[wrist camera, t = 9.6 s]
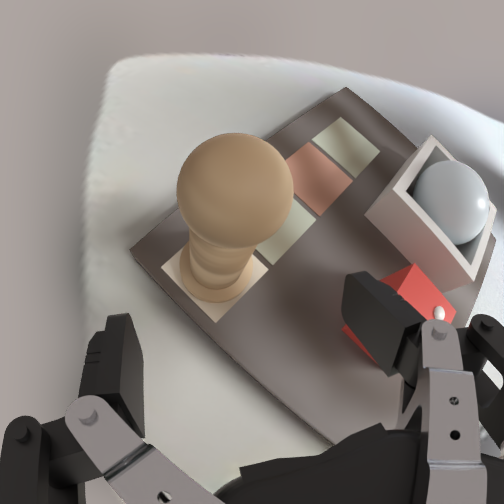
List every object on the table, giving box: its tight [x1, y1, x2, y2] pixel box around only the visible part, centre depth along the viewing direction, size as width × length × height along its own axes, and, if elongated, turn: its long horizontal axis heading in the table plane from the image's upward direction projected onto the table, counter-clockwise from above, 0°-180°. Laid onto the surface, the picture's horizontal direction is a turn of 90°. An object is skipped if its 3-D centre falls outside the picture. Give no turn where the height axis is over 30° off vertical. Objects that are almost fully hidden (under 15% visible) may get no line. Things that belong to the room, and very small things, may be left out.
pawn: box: [177, 133, 294, 303], centre depth 14 cm, size 4×4×11 cm
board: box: [130, 87, 496, 445], centre depth 22 cm, size 25×22×2 cm
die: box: [341, 263, 456, 363], centre depth 17 cm, size 4×4×4 cm
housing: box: [364, 134, 497, 293], centre depth 21 cm, size 9×9×4 cm
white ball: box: [413, 160, 489, 245], centre depth 20 cm, size 6×6×6 cm
